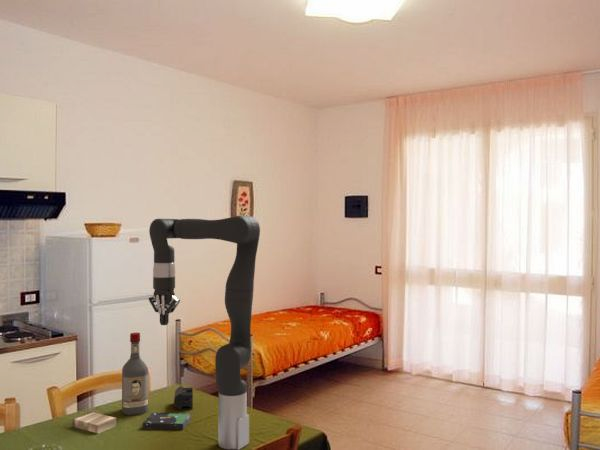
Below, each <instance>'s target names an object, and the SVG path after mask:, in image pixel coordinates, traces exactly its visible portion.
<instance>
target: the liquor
mask: <svg viewBox="0 0 600 450" xmlns="http://www.w3.org/2000/svg"><path fill="white" fill-rule="evenodd" d="M129 342H130V356H129V359H127V361H126V362H125V363H124V364H123V366H122V369H121V410H122V413H123V415H124V416H125V415H126V416H136V415H142V414H144V413H147V411H148V409H149V368H148V366H147V364H146V363H145V361H144V360H143V359H142V357H141V356H140V342H141V333H140V332H131V333H130V334H129Z"/></svg>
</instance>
